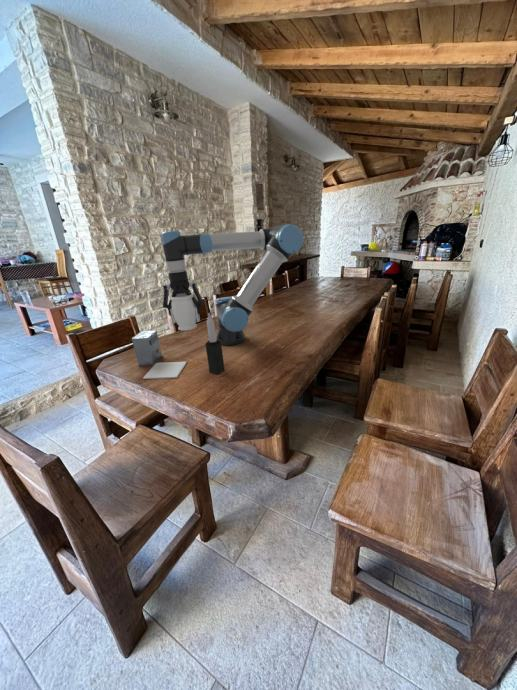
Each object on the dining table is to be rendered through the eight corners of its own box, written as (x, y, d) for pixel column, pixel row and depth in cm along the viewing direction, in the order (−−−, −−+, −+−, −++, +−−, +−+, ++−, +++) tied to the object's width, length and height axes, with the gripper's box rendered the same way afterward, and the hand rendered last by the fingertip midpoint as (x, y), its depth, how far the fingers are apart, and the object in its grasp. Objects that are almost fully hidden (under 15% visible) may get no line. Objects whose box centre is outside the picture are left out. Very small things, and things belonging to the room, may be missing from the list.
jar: (193, 331, 119) (187, 297, 113) (171, 331, 121) (164, 298, 115) (202, 323, 128) (197, 291, 123) (182, 324, 131) (176, 292, 125)
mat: (186, 362, 124) (186, 361, 124) (176, 378, 111) (176, 376, 111) (156, 363, 125) (156, 362, 125) (143, 379, 112) (142, 377, 112)
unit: (163, 355, 133) (157, 330, 129) (154, 364, 124) (148, 338, 119) (147, 356, 134) (141, 331, 129) (138, 365, 125) (131, 338, 120)
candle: (217, 374, 112) (209, 315, 102) (208, 372, 114) (199, 314, 105) (225, 369, 115) (218, 311, 106) (216, 367, 118) (208, 310, 109)
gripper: (206, 267, 118) (213, 317, 126) (154, 271, 120) (164, 320, 128) (201, 270, 111) (209, 322, 119) (147, 274, 113) (158, 325, 121)
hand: (186, 321), depth 124 cm, fingers closed on jar, 10 cm apart
